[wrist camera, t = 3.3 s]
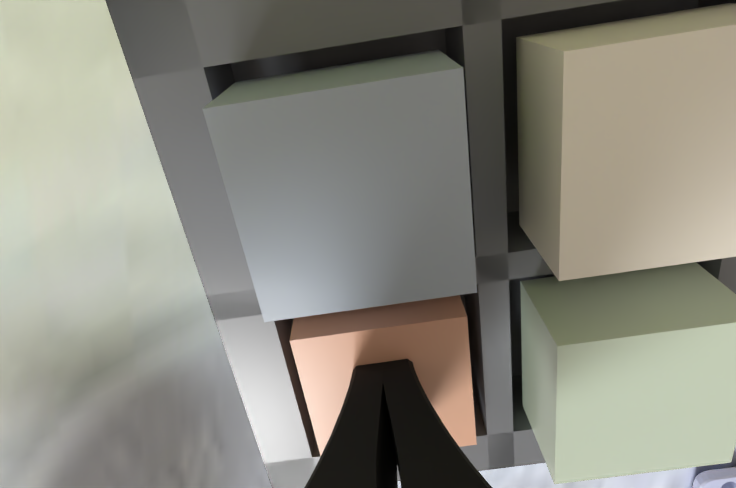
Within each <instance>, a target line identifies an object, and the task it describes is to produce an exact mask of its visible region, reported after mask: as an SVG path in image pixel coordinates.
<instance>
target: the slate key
mask: <svg viewBox="0 0 736 488" xmlns="http://www.w3.org/2000/svg"><path fill="white" fill-rule="evenodd" d="M203 113H204V116H205V120H206V123H207V127H208V130H209V133H210V137H211V140H212V144H213V147H214V151H215V154H216V158H217V161H218V164H219V168H220V171H221V175H222V178H223V182H224V185H225V189H226V192H227V195H228V199H229V202H230V206H231V209H232V213H233V216H234V220H235V223H236V226H237V230H238V233H239V237H240V240H241V244H242V247H243V251H244V254H245V257H246V261H247V264H248V268H249V271H250V275H251V278H252V282H253V285H254V289H255V292H256V295H257V299H258V302H259V306H260V309H261V313H262V316H263V320H264V322H270V321H277V320H284V319H291V318H298V317H305V316H313V315H320V314H327V313H334V312H341V311H349V310H356V309H363V308H370V307H377V306H384V305H392V304H399V303H406V302H413V301H420V300H427V299H435V298H442V297H449V296H456V295H463V294H471V293H477V282H476V266H475V250H474V234H473V218H472V202H471V185H470V169H469V153H468V137H467V121H466V105H465V89H464V73H463V67H462V66H460V65H459V64H458V63H456V62H455V61H453V60H452V59H451V58H449V57H448V56H447V55H445V54H444V53H442V52H441V51H440V50H432V51H426V52H420V53H413V54H407V55H401V56H394V57H388V58H382V59H376V60H369V61H363V62H357V63H351V64H344V65H338V66H332V67H326V68H319V69H313V70H307V71H301V72H294V73H288V74H282V75H276V76H269V77H263V78H257V79H251V80H244V81H238V82H235V83H234V84H232V85H231V86H230V87H229V88H228V89H226V90H225V91H224V92H223V93H221V94H220V95H219V96H218V97H216V98H215V99H214V100H213V101H211V102H210V103H209V104H208V105H207V106H205V107H204V108H203Z"/></svg>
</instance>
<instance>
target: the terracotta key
mask: <svg viewBox="0 0 736 488" xmlns="http://www.w3.org/2000/svg"><path fill="white" fill-rule="evenodd" d="M290 344H291V348H292V352H293V355H294V359H295V363H296V367H297V370H298V374H299V378H300V381H301V385H302V389H303V393H304V396H305V400H306V404H307V408H308V411H309V415H310V419H311V422H312V426H313V430H314V434H315V437H316V441H317V445H318V448H319V452H320V456H321V455H322V453H323V451H324V448H325V446H326V444H327V442H328V440H329V438H330V436H331V433H332V431H333V428H334V426H335V423H336V421H337V418H338V416H339V413H340V411H341V408H342V406H343V403H344V400H345V397H346V394H347V391H348V388H349V384H350V380H351V376H352V372H353V369H354V368H355V367H356V366H358V365H366V364H373V363H381V362H388V361H395V360H402V359H409V360H410V361H412V362H413V365H414V369H415V371H416V374H417V377H418V379H419V381H420V383H421V385H422V387H423V389H424V391H425V393H426V395H427V397H428V399H429V401H430V403H431V404H432V406H433V408H434V409H435V411H436V413H437V414H438V416H439V417H440V419H441V421H442V422H443V424H444V426H445V427H446V429H447V430H448V432H449V433H450V435H451V436H452V437H453V439H454V440H455V442H456V443H457V444H458V446H459V447H462V446H470V445H477V442H476V428H475V415H474V401H473V388H472V375H471V361H470V348H469V334H468V321H467V314H466V312H465V309H464V306H463V303H462V300H461V297H460V295H456V296H449V297H442V298H435V299H427V300H420V301H413V302H406V303H399V304H392V305H384V306H377V307H370V308H363V309H356V310H349V311H341V312H334V313H327V314H320V315H313V316H305V317H298V318H294V319H293V324H292V330H291V336H290Z"/></svg>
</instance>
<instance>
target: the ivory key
mask: <svg viewBox="0 0 736 488" xmlns="http://www.w3.org/2000/svg"><path fill="white" fill-rule="evenodd" d="M516 59H517V116H518V174H519V225H520V226H521V228H522V229H523V231H524V232H525V233H526V235H527V236H528V238H529V239H530V241H531V242H532V243H533V245H534V246H535V248H536V249H537V251H538V252H539V253H540V255H541V256H542V258H543V259H544V261H545V262H546V263H547V265H548V266H549V268H550V269H551V271H552V272H553V273H554V275H555V276H556V278H557V279H558V281H564V280H571V279H578V278H585V277H593V276H600V275H607V274H614V273H621V272H628V271H636V270H643V269H650V268H657V267H664V266H671V265H679V264H686V263H693V262H700V261H707V260H715V259H722V258H729V257H736V3H726V4H720V5H713V6H707V7H701V8H695V9H688V10H682V11H676V12H670V13H663V14H657V15H651V16H645V17H638V18H632V19H626V20H620V21H613V22H607V23H601V24H595V25H588V26H582V27H576V28H570V29H563V30H557V31H551V32H545V33H538V34H532V35H526V36H520V37H516Z"/></svg>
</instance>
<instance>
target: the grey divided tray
mask: <svg viewBox="0 0 736 488" xmlns="http://www.w3.org/2000/svg"><path fill="white" fill-rule="evenodd" d="M106 3H107V6H108V9H109V12H110V15H111V18H112V21H113V24H114V27H115V30H116V33H117V36H118V39H119V41H120V44H121V47H122V50H123V53H124V56H125V59H126V62H127V65H128V68H129V71H130V74H131V77H132V79H133V82H134V85H135V88H136V91H137V94H138V97H139V100H140V103H141V106H142V109H143V112H144V115H145V117H146V120H147V123H148V126H149V129H150V132H151V135H152V138H153V141H154V144H155V147H156V150H157V153H158V155H159V158H160V161H161V164H162V167H163V170H164V173H165V176H166V179H167V182H168V185H169V188H170V191H171V193H172V196H173V199H174V202H175V205H176V208H177V211H178V214H179V217H180V220H181V223H182V226H183V229H184V232H185V234H186V237H187V240H188V243H189V246H190V249H191V252H192V255H193V258H194V261H195V264H196V267H197V270H198V272H199V275H200V278H201V281H202V284H203V287H204V290H205V293H206V296H207V299H208V302H209V305H210V308H211V310H212V313H213V316H214V319H215V322H216V325H217V328H218V331H219V334H220V337H221V340H222V343H223V346H224V348H225V351H226V354H227V357H228V360H229V363H230V366H231V369H232V372H233V375H234V378H235V381H236V384H237V387H238V389H239V392H240V395H241V398H242V401H243V404H244V407H245V410H246V413H247V416H248V419H249V422H250V425H251V427H252V430H253V433H254V436H255V439H256V442H257V445H258V448H259V451H260V454H261V457H262V460H263V463H264V465H265V468H266V471H267V474H268V477H269V480H270V483H271V486H272V488H305V486H306V484H307V482H308V480H309V479H310V477H311V475H312V473H313V471H314V469H315V467H316V465H317V463H318V461H319V459H320V457H321V456H320V452H319V448H318V445H317V441H316V437H315V434H314V430H313V426H312V422H311V419H310V415H309V411H308V408H307V404H306V400H305V396H304V393H303V389H302V385H301V381H300V378H299V374H298V370H297V367H296V363H295V359H294V355H293V352H292V348H291V344H290V336H291V330H292V324H293V319H294V318H291V319H284V320H277V321H270V322H264V320H263V316H262V313H261V309H260V306H259V302H258V299H257V295H256V292H255V289H254V285H253V282H252V278H251V275H250V271H249V268H248V264H247V261H246V257H245V254H244V251H243V247H242V244H241V240H240V237H239V233H238V230H237V226H236V223H235V220H234V216H233V213H232V209H231V206H230V202H229V199H228V195H227V192H226V189H225V185H224V182H223V178H222V175H221V171H220V168H219V164H218V161H217V158H216V154H215V151H214V147H213V144H212V140H211V137H210V133H209V130H208V127H207V123H206V120H205V116H204V113H203V108H204V107H205V106H207V105H208V104H209V103H210V102H211V101H213V100H214V99H215V98H216V97H218V96H219V95H220V94H221V93H223V92H224V91H225V90H226V89H228V88H229V87H230V86H231V85H232V84H234V83H235V82H238V81H244V80H251V79H257V78H263V77H269V76H276V75H282V74H288V73H294V72H301V71H307V70H313V69H319V68H326V67H332V66H338V65H344V64H351V63H357V62H363V61H369V60H376V59H382V58H388V57H394V56H401V55H407V54H413V53H420V52H426V51H432V50H440V51H441V52H442V53H444V54H445V55H447V56H448V57H449V58H451V59H452V60H453V61H455V62H456V63H458V64H459V65H460V66H462V67H463V73H464V89H465V105H466V121H467V137H468V153H469V169H470V185H471V202H472V218H473V234H474V250H475V266H476V282H477V293H471V294H463V295H460V297H461V300H462V303H463V306H464V309H465V312H466V314H467V321H468V334H469V348H470V361H471V375H472V388H473V401H474V415H475V428H476V442H477V445H470V446H462V447H460V449H461V450H462V451H463V453H464V454H465V455H466V457H467V458H468V459H469V461H470V462H471V463H472V464H473V466H474V467H475V468H476V469H477V470H478V471H482V470H490V469H498V468H506V467H514V466H522V465H530V464H538V463H546V462H545V459H544V457H543V455H542V452H541V450H540V447H539V445H538V442H537V440H536V437H535V435H534V432H533V430H532V427H531V425H530V422H529V420H528V418H527V415H526V413H525V410H524V408H523V403H522V346H521V288H520V281H525V280H532V279H539V278H546V277H553V276H555V275H554V273H553V272H552V271H551V269H550V268H549V266H548V265H547V263H546V262H545V261H544V259H543V258H542V256H541V255H540V253H539V252H538V251H537V249H536V248H535V246H534V245H533V243H532V242H531V241H530V239H529V238H528V236H527V235H526V233H525V232H524V231H523V229H522V228H521V226H520V225H519V174H518V116H517V59H516V37H520V36H526V35H532V34H538V33H545V32H551V31H557V30H563V29H570V28H576V27H582V26H588V25H595V24H601V23H607V22H613V21H620V20H626V19H632V18H638V17H645V16H651V15H657V14H663V13H670V12H676V11H682V10H688V9H695V8H701V7H707V6H713V5H720V4H726V3H736V0H106ZM696 263H698V264H699V265H700V266H701V267H703V268H704V269H705V270H706V271H708V272H709V273H710V274H711V275H713V276H714V277H715V278H716V279H718V280H719V281H720V282H721V283H723V284H724V285H725V286H726V287H728V288H729V289H730V290H731V291H733V292H734V293H735V294H736V257H729V258H722V259H715V260H707V261H700V262H696ZM397 481H400V476H399V471H398V466H397Z"/></svg>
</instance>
